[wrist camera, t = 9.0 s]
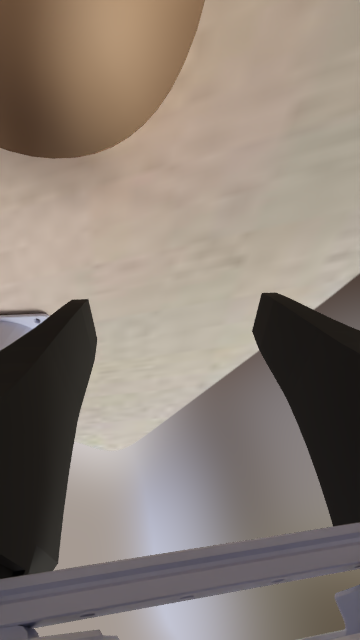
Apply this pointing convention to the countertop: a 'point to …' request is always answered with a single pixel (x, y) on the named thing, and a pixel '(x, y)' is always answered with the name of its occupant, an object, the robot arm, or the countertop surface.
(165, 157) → the countertop surface
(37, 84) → the lid
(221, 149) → the countertop surface
